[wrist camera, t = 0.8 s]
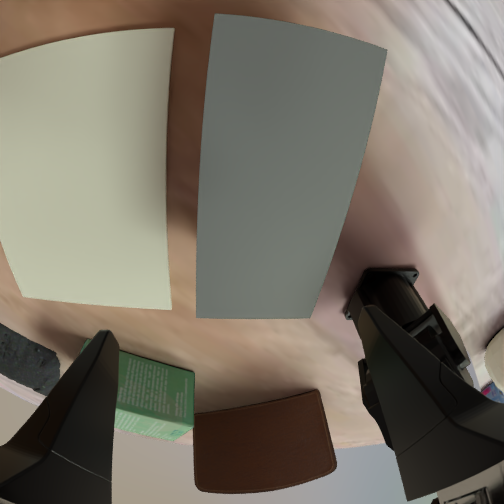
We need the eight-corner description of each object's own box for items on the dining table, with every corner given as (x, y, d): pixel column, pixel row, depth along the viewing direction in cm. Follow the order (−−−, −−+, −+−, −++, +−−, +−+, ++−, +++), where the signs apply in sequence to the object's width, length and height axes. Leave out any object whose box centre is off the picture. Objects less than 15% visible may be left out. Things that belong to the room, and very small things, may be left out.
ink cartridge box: (492, 381, 65) (509, 415, 53) (497, 380, 66) (513, 413, 55) (471, 398, 70) (486, 432, 58) (477, 397, 71) (491, 429, 60)
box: (84, 335, 28) (68, 395, 22) (196, 369, 33) (196, 427, 27) (79, 364, 31) (68, 416, 25) (176, 392, 36) (175, 442, 31)
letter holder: (191, 412, 41) (193, 496, 30) (318, 387, 39) (340, 475, 28) (214, 431, 47) (219, 501, 36) (323, 409, 45) (341, 481, 34)
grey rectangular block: (359, 48, 12) (387, 49, 9) (300, 287, 21) (310, 318, 19) (215, 22, 11) (214, 13, 8) (197, 285, 20) (196, 317, 18)
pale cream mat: (174, 28, 13) (173, 27, 13) (171, 306, 26) (171, 309, 26) (-25, 68, 11) (-29, 69, 10) (24, 294, 23) (23, 296, 23)
